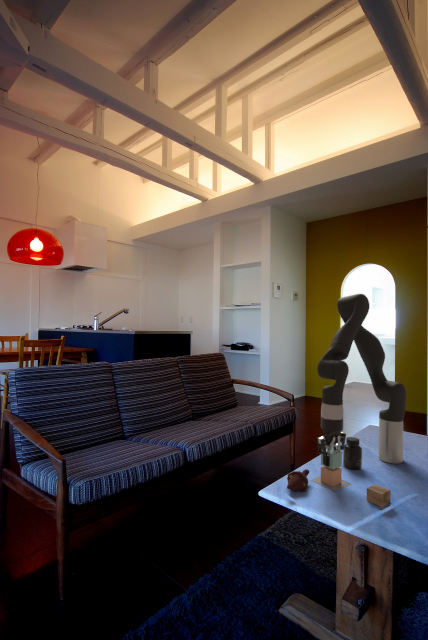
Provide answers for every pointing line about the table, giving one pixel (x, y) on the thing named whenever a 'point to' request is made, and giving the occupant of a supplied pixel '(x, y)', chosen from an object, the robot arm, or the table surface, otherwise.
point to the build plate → (334, 488)
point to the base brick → (331, 475)
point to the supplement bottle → (352, 454)
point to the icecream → (298, 480)
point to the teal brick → (334, 459)
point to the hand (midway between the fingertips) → (331, 463)
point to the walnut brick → (378, 495)
